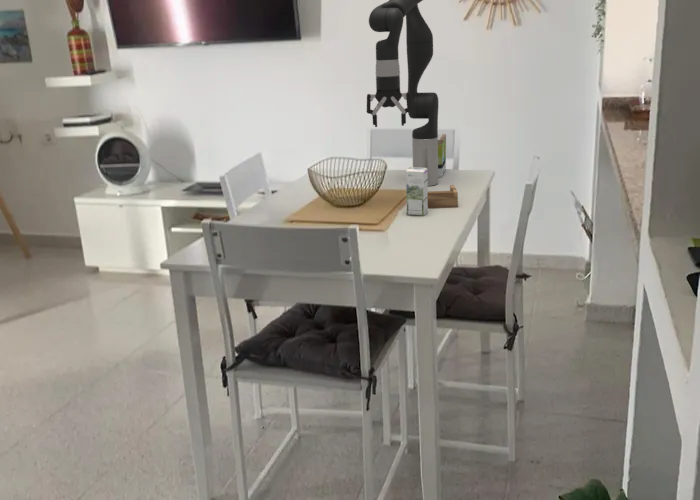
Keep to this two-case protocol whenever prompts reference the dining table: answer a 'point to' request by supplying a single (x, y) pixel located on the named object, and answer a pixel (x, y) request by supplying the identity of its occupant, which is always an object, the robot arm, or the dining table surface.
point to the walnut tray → (443, 198)
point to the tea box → (441, 154)
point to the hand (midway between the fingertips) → (389, 126)
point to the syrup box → (416, 191)
